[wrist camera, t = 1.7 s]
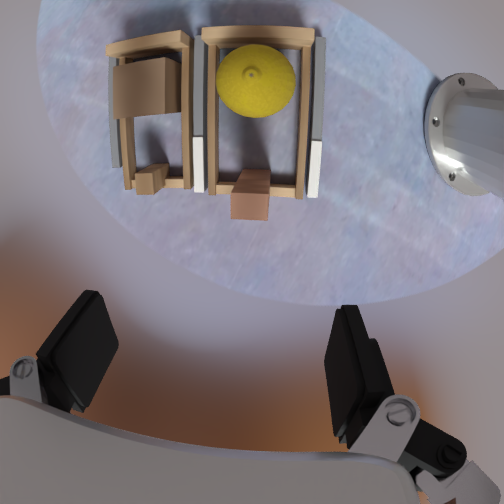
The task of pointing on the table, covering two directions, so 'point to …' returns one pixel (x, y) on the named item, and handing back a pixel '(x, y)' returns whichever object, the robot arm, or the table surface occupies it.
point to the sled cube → (159, 174)
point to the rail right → (114, 124)
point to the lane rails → (201, 116)
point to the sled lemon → (250, 180)
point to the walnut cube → (147, 88)
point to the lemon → (255, 81)
